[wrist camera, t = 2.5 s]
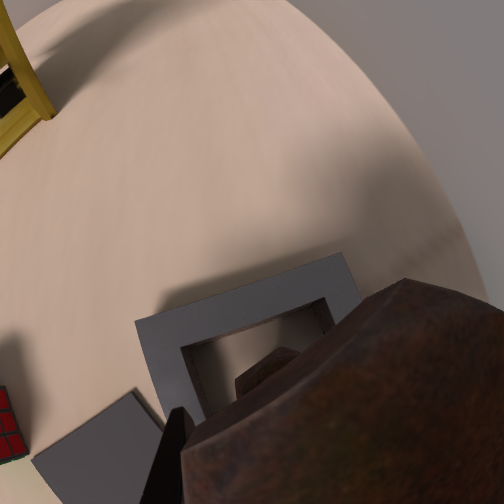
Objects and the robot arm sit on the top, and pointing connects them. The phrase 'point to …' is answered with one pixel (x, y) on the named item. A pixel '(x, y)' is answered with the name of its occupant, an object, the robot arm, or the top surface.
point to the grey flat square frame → (237, 324)
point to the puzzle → (9, 432)
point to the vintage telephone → (18, 89)
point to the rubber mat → (104, 457)
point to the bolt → (366, 411)
